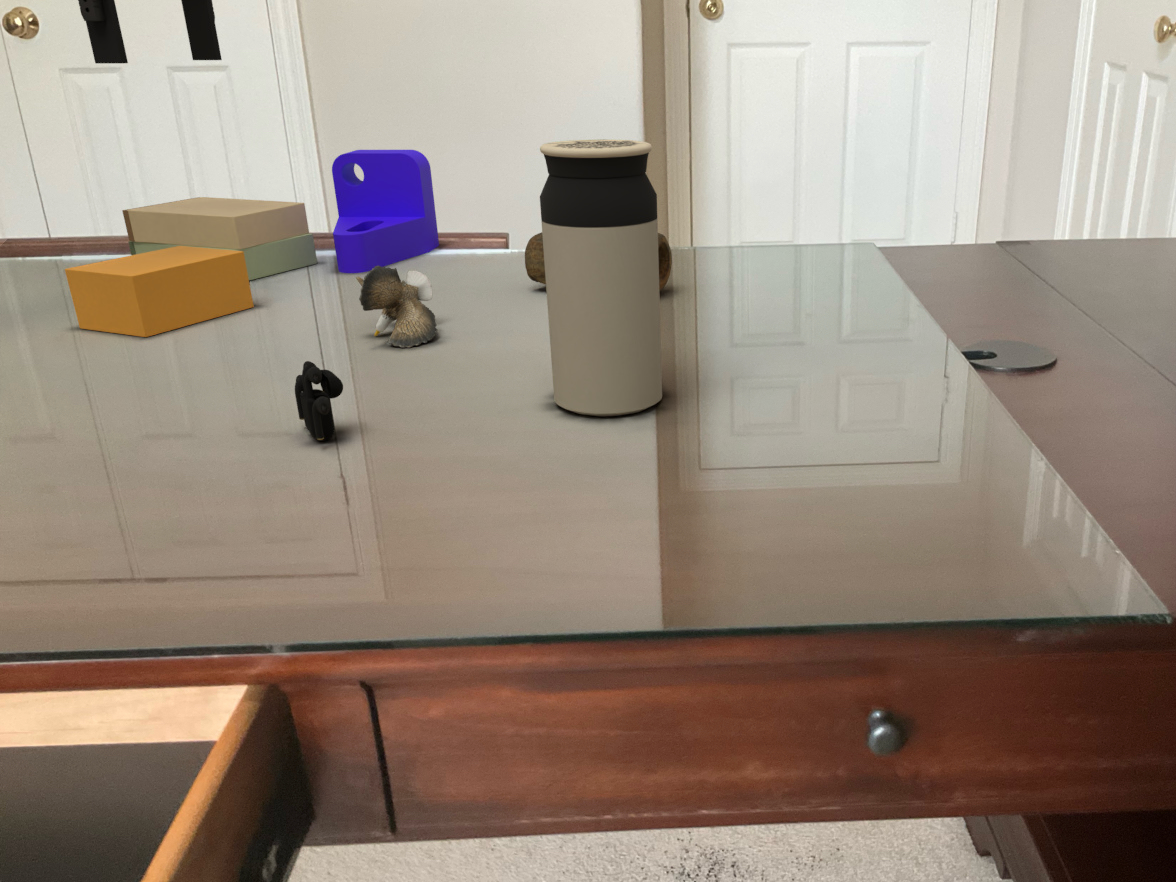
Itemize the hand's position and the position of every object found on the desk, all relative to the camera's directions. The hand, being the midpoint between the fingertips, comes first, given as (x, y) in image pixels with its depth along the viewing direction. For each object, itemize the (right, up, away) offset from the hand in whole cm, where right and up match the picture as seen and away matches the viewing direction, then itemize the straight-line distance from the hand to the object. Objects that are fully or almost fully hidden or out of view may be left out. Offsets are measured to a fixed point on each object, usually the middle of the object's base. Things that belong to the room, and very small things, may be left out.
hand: (162, 62), depth 102 cm
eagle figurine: (+23, -27, -3) cm, 36 cm away
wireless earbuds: (+26, -38, -28) cm, 54 cm away
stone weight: (+40, -19, +13) cm, 46 cm away
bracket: (+10, -11, +31) cm, 34 cm away
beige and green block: (-5, -13, +25) cm, 29 cm away
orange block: (-1, -23, +3) cm, 24 cm away
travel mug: (+44, -35, -21) cm, 60 cm away
